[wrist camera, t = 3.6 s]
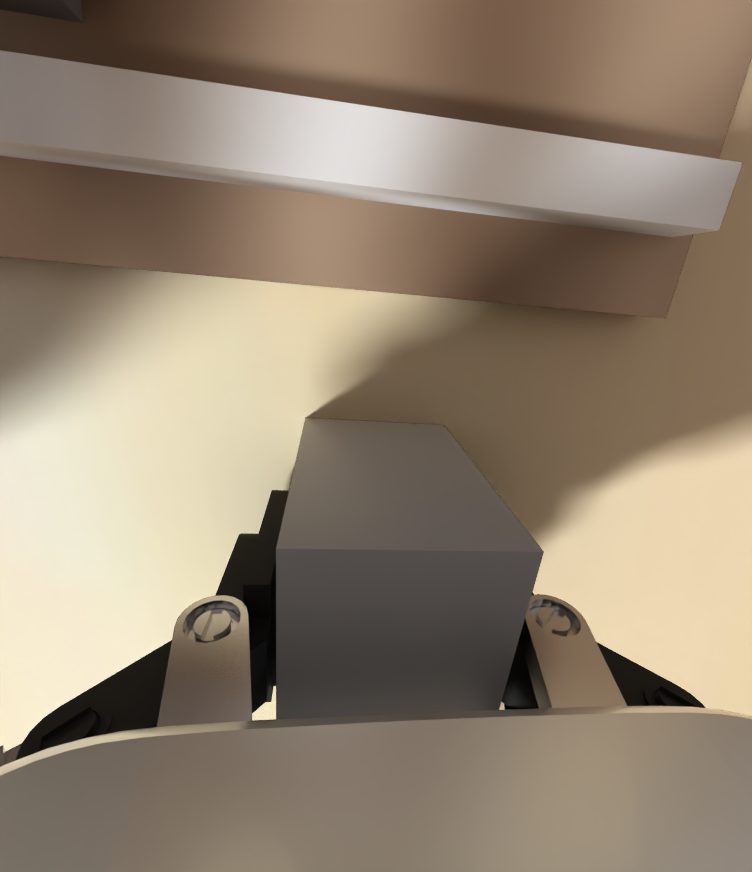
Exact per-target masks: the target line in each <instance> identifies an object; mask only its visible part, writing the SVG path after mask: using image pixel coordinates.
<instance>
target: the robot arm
mask: <svg viewBox="0 0 752 872" xmlns="http://www.w3.org/2000/svg"><path fill="white" fill-rule="evenodd" d="M288 493H289V491H281V490H272V492H271V495H270V498H269V502H268V505H267V508H266V511H265V515H264V518H263V521H262V524H261V528H260V531H259V534H240V535H239V536H238V539H237V541H236V544H235V546H234V549H233V552H232V554H231V557H230V559H229V562H228V564H227V567H226V570H225V572H224V575H223V577H222V580H221V583H220V585H219V588H218V590H217V593H216V596H211V597H207V598H204V599H201V600H199V601H197V602H195V603H193V604H192V605H190V606H189V607H188V608H186V609H185V610H184V611H183V612H182V613H181V615H180V616H179V617H178V619H177V621H176V624H175V627H174V632H173V638H172V640H171V641H170V642H168V643H166V644H165V645H163V646H161V647H160V648H158V649H156V650H154V651H153V652H151V653H149V654H148V655H146V656H144V657H143V658H141V659H139V660H138V661H136V662H134V663H133V664H131V665H129V666H128V667H126V668H124V669H122V670H121V671H119V672H117V673H116V674H114V675H112V676H111V677H109V678H107V679H106V680H104V681H102V682H101V683H99V684H97V685H96V686H94V687H92V688H90V689H89V690H87V691H85V692H84V693H82V694H80V695H79V696H77V697H75V698H74V699H72V700H70V701H69V702H67V703H65V704H64V705H62V706H60V707H59V708H57V709H56V710H54V711H53V712H52V713H50V714H49V715H47V716H46V717H44V718H43V719H42V720H41V721H40V722H39V723H38V724H37V725H36V726H35V727H34V728H33V729H32V730H31V731H30V733H29V734H28V736H27V737H26V739H25V740H24V741H23V743H22V744H20V745H18V746H16V747H14V748H12V749H10V750H8V751H5V748H4V746H1V747H0V872H752V716H749V715H744V714H739V713H734V712H729V711H724V710H717V709H708V708H705V707H704V705H703V704H702V703H701V702H700V701H698V700H697V699H696V698H695V697H694V696H692V695H691V694H690V693H688V692H687V691H685V690H684V689H682V688H681V687H679V686H677V685H675V684H674V683H672V682H670V681H668V680H666V679H664V678H662V677H661V676H659V675H657V674H655V673H653V672H651V671H649V670H647V669H646V668H644V667H642V666H640V665H638V664H636V663H634V662H633V661H631V660H629V659H627V658H625V657H623V656H621V655H619V654H618V653H616V652H614V651H612V650H610V649H608V648H606V647H604V646H603V645H601V644H599V643H597V642H596V641H595V639H594V636H593V634H592V632H591V630H590V628H589V626H588V624H587V622H586V620H585V619H584V618H583V616H582V615H581V613H579V612H578V611H577V610H576V609H575V608H574V607H573V606H571V605H570V604H568V603H567V602H565V601H563V600H561V599H558V598H556V597H553V596H549V595H540V594H537V595H534V594H533V592H532V595H531V598H530V602H529V605H528V609H527V613H526V616H525V620H524V623H523V627H522V630H521V634H520V637H519V641H518V644H517V648H516V652H515V655H514V659H513V662H512V666H511V669H510V673H509V676H508V680H507V683H506V687H505V690H504V694H503V698H502V701H501V705H500V708H499V710H484V711H459V712H434V713H410V714H386V715H362V716H341V717H320V718H299V719H277V720H256V721H252V713H253V712H254V711H256V710H257V709H258V708H259V707H260V706H261V705H262V704H264V703H265V702H271V699H272V692H273V686H276V547H277V542H278V538H279V533H280V529H281V525H282V520H283V516H284V511H285V507H286V502H287V498H288Z"/></svg>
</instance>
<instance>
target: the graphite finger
mask: <svg viewBox="0 0 752 872" xmlns="http://www.w3.org/2000/svg"><path fill="white" fill-rule="evenodd" d="M542 556H543V550H542V549H541V548H540V546H539V545H538V544H537V543H536V541H535V540H534V539H533V538H532V536H531V535H530V534H529V533H528V531H527V530H526V529H525V527H524V526H523V525H522V524H521V522H520V521H519V520H518V519H517V517H516V516H515V515H514V514H513V512H512V511H511V510H510V508H509V507H508V506H507V505H506V503H505V502H504V501H503V500H502V498H501V497H500V496H499V495H498V493H497V492H496V491H495V490H494V488H493V487H492V486H491V484H490V483H489V482H488V481H487V479H486V478H485V477H484V476H483V474H482V473H481V472H480V471H479V469H478V468H477V467H476V465H475V464H474V463H473V462H472V460H471V459H470V458H469V457H468V455H467V454H466V453H465V452H464V450H463V449H462V448H461V446H460V445H459V444H458V443H457V441H456V440H455V439H454V438H453V436H452V435H451V434H450V433H449V431H448V430H447V429H446V427H445V426H444V425H436V424H417V423H398V422H378V421H359V420H340V419H321V418H305V422H304V427H303V431H302V436H301V440H300V445H299V449H298V454H297V458H296V462H295V467H294V471H293V476H292V480H291V485H290V489H289V493H288V498H287V502H286V507H285V511H284V516H283V520H282V525H281V529H280V533H279V538H278V542H277V547H276V720H277V719H299V718H320V717H341V716H362V715H386V714H410V713H434V712H459V711H484V710H499V708H500V705H501V701H502V698H503V694H504V690H505V687H506V683H507V680H508V676H509V673H510V669H511V666H512V662H513V659H514V655H515V652H516V648H517V644H518V641H519V637H520V634H521V630H522V627H523V623H524V620H525V616H526V613H527V609H528V605H529V602H530V598H531V595H532V591H533V588H534V584H535V581H536V577H537V574H538V570H539V567H540V563H541V559H542Z"/></svg>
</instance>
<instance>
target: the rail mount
mask: <svg viewBox="0 0 752 872" xmlns="http://www.w3.org/2000/svg"><path fill="white" fill-rule="evenodd" d="M751 58H752V0H0V256H1V257H12V258H23V259H34V260H44V261H55V262H66V263H77V264H87V265H98V266H109V267H120V268H131V269H141V270H152V271H163V272H174V273H184V274H195V275H206V276H217V277H227V278H238V279H249V280H260V281H270V282H281V283H292V284H303V285H313V286H324V287H335V288H346V289H356V290H367V291H378V292H389V293H399V294H410V295H421V296H432V297H442V298H453V299H464V300H475V301H486V302H496V303H507V304H518V305H529V306H539V307H550V308H561V309H572V310H582V311H593V312H604V313H615V314H625V315H636V316H647V317H658V318H666V315H667V312H668V309H669V306H670V303H671V300H672V297H673V294H674V291H675V288H676V285H677V282H678V279H679V276H680V273H681V270H682V267H683V264H684V261H685V258H686V255H687V252H688V249H689V246H690V243H691V240H692V237H693V234H699V233H706V232H712V231H719V229H720V226H721V223H722V221H723V218H724V215H725V212H726V209H727V206H728V203H729V201H730V198H731V195H732V192H733V189H734V186H735V183H736V181H737V178H738V175H739V172H740V169H741V166H742V164H743V163H742V162H736V161H729V160H722V159H718V158H719V155H720V152H721V149H722V146H723V143H724V140H725V137H726V134H727V131H728V128H729V125H730V122H731V119H732V116H733V113H734V110H735V107H736V104H737V101H738V98H739V95H740V92H741V88H742V85H743V82H744V79H745V76H746V73H747V70H748V67H749V64H750V61H751Z"/></svg>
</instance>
